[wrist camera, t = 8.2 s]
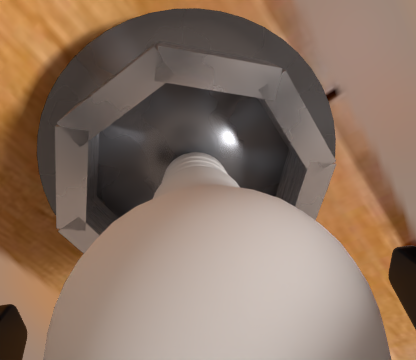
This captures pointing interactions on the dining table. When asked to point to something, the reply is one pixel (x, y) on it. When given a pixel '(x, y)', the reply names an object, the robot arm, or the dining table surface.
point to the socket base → (181, 117)
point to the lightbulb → (215, 281)
